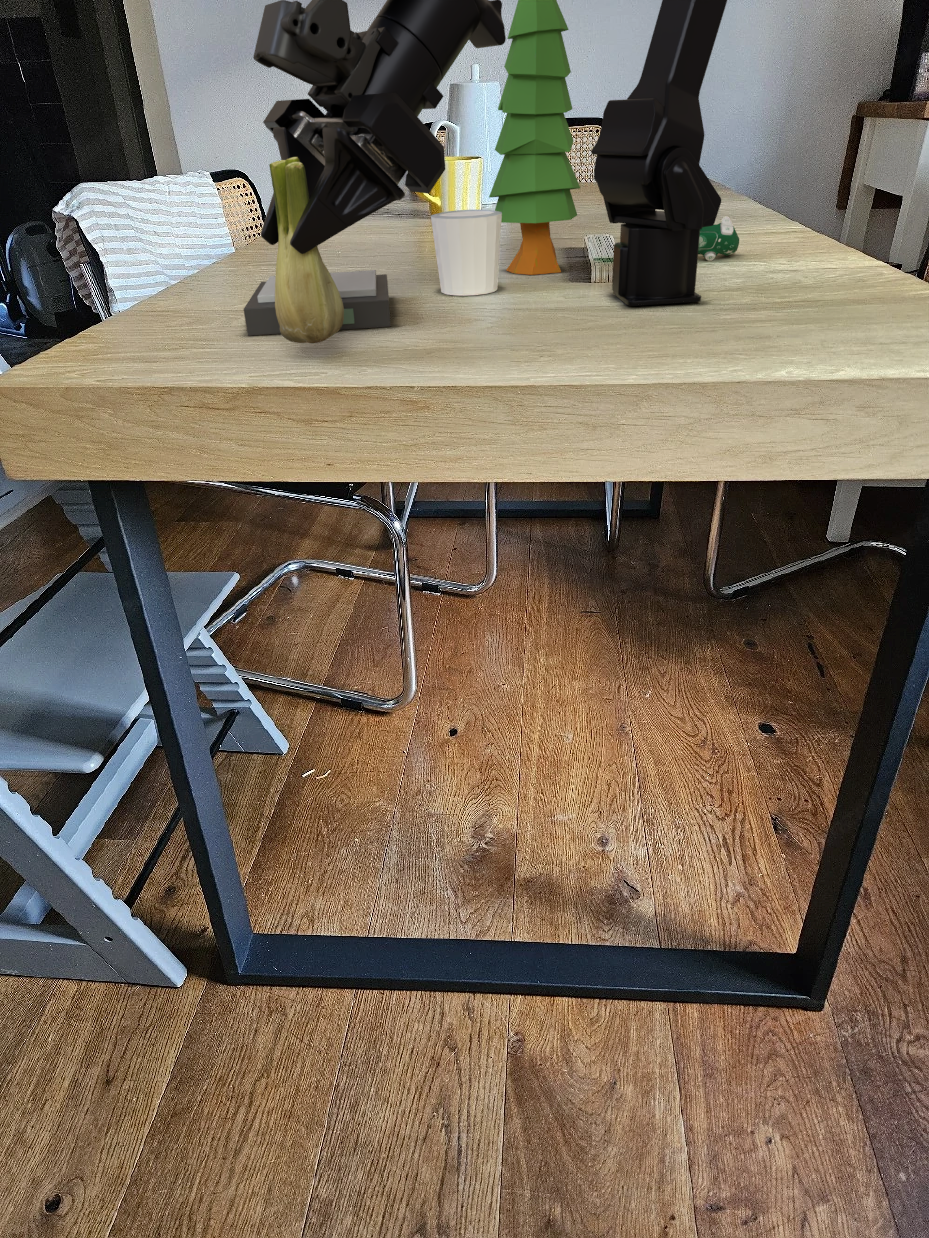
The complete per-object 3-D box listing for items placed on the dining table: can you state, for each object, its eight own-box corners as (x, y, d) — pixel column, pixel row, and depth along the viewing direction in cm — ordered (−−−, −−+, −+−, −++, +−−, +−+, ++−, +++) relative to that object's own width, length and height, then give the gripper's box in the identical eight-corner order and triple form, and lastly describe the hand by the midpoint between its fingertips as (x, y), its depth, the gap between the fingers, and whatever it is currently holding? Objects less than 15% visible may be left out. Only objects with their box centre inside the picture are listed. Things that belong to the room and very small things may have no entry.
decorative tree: (512, 280, 92) (506, -87, 76) (476, 268, 99) (464, -68, 84) (594, 270, 95) (604, -85, 79) (553, 259, 102) (555, -67, 87)
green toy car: (651, 276, 100) (654, 241, 94) (652, 246, 101) (656, 210, 95) (736, 274, 98) (744, 239, 93) (736, 245, 99) (745, 208, 94)
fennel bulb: (289, 330, 68) (262, 156, 62) (352, 328, 68) (331, 151, 62) (273, 351, 63) (242, 163, 57) (341, 347, 63) (317, 158, 57)
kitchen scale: (388, 298, 86) (386, 267, 85) (390, 327, 75) (387, 292, 73) (264, 305, 85) (260, 275, 84) (247, 336, 74) (241, 301, 73)
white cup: (497, 296, 84) (495, 216, 81) (427, 297, 86) (422, 218, 82) (509, 283, 90) (507, 208, 86) (443, 284, 91) (439, 209, 88)
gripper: (269, -32, 62) (148, 157, 64) (382, -79, 48) (224, 165, 49) (381, 91, 70) (270, 259, 71) (508, 82, 56) (367, 292, 57)
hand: (280, 245), depth 62 cm, fingers closed on fennel bulb, 6 cm apart
